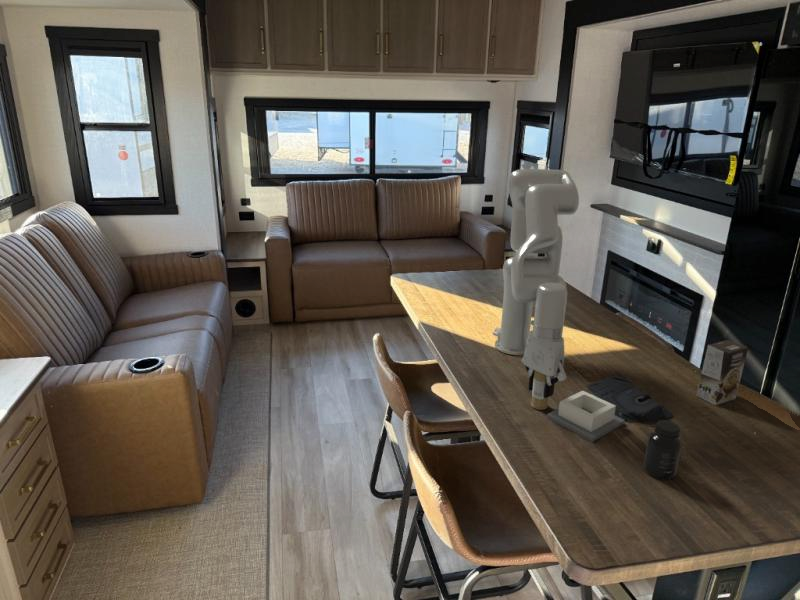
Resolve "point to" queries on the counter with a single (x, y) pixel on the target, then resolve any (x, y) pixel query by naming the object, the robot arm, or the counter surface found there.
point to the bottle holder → (586, 415)
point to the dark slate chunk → (629, 400)
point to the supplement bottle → (663, 450)
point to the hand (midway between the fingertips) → (540, 392)
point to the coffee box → (722, 372)
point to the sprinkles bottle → (539, 391)
